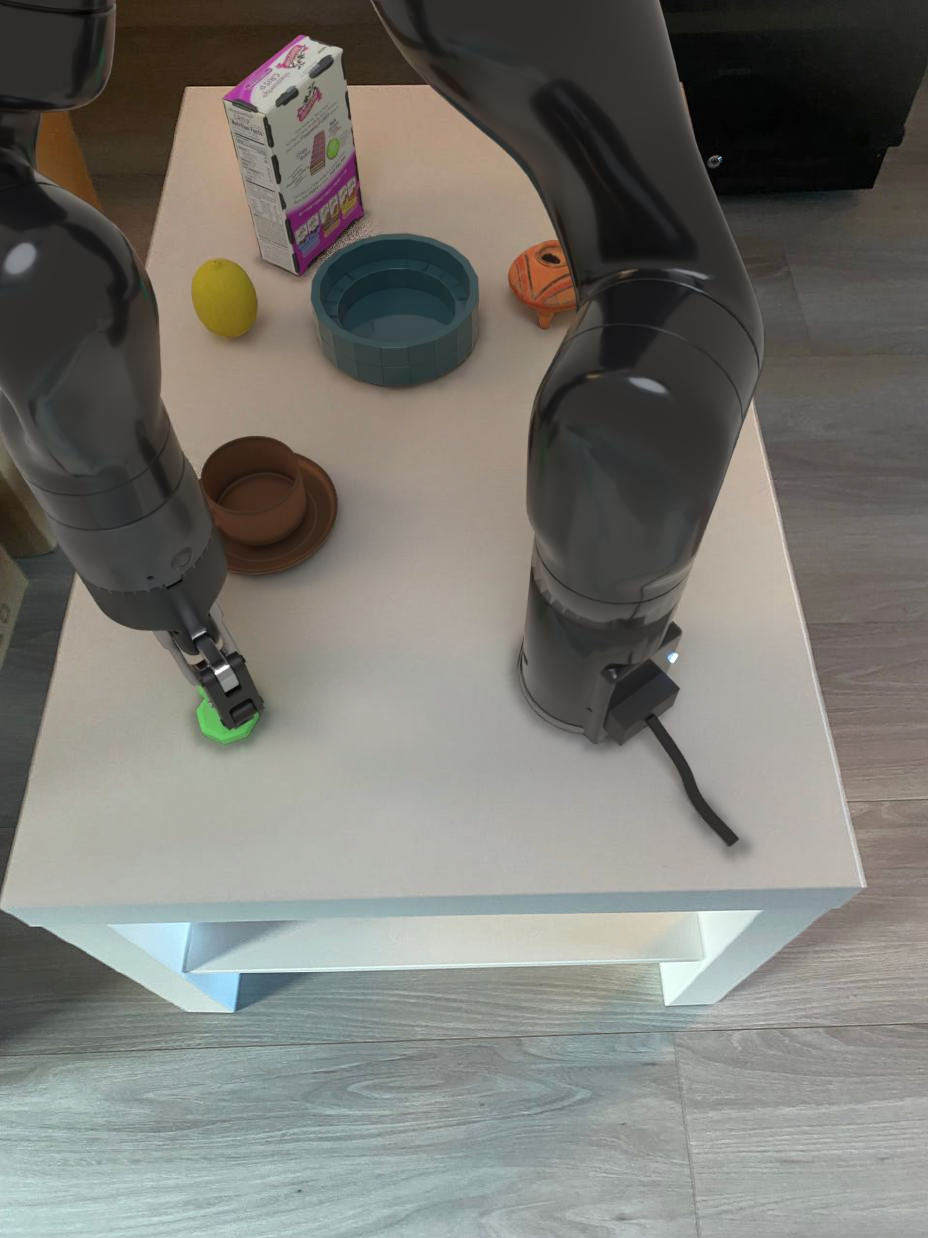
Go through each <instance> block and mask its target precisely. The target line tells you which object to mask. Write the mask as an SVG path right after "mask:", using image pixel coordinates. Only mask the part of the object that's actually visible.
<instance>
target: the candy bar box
mask: <svg viewBox="0 0 928 1238" xmlns="http://www.w3.org/2000/svg"><path fill="white" fill-rule="evenodd" d="M221 99H222V104H223V107H224V112H225V116H226V119H227V124H228V128H229V130H230V135H231V141H232V144H233V148H234V152H235V156H236V160H237V164H238V168H239V172H240V174H241V175H240V176H241V178H242V179H241V180H242V184H243V187H244V192H245V196H246V201H247V203H248V209H249V212H250V215H251V220H252V224H253V229H254V233H255V237H256V240H257V246H258V250H259V252H260V257H261V260H262V261H263V262H265V263H268V264H269V265H272V266H275V267H277V268H279V269H282V270H285V271H286V272H289V273H291V274H293V275H295V276H298V277H299V276H301V275H303V274H304V273H305V272H306V271H307V270H308V269H309V268H311V266H312V265H313V264H314V263H315V262H316V261H317V260H318V259H319V258H320V257H321V256H322V255H323V254H324V253H325V252H326V251H327V250H328V249H329V248H330V247H332V245H333V244H334V243H335V242H336V241H337V240H339V238H340V237H341V236H343V234H345V232H346V231H348V229H349V228H350V227H351V226H352V225H354V223H355V222H356V221H358V220H359V219H360V218H361V217H362V216H363V215H364V213H365V210H364V204H363V195H362V189H361V182H360V174H359V167H358V160H357V159H358V158H357V150H356V143H355V136H354V129H353V120H352V112H351V106H350V98H349V89H348V83H347V73H346V66H345V58H344V49H343V48H341V47H338V46H335V45H332V44H329V43H326V42H324V41H320V40H319V39H313V38H312V37H311V36H309V35H308V36H307V35H302V34H299V35H298V36H296V37H295V38H294V39H293V40H292V41H290V42H289V43H288V44H287V45H285V46H284V47H283V48H282V49H280V50H279V51H278V52H277V53H275V54H274V55H273V56H271V58H269V59H268V60H267V61H266V62H264V63H263V64H262V65H260V66H259V67H258V68H256V70H254V71H253V72H252V73H250V75H248V76H246V78H244V79H243V80H242V81H240V82H239V83H237V84H236V86H234V87H233V88H232V89H231V90H229V91H228V92H227V93H226V94H224V95H223V96H222V97H221Z"/></svg>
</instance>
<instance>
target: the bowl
mask: <svg viewBox="0 0 928 1238" xmlns="http://www.w3.org/2000/svg"><path fill="white" fill-rule="evenodd" d="M479 284H480V283H479V277H478V275H477V273H476V271H475V269H474V266H473V265H472V263H471V262H470V260H469V259H468V258H467V257H466V256H464V255H463V254H462V253H461V252H460V251H459V250H458V249H456V248H455V247H454V246H451V245H449V244H447V243H445V242H442V241H440V240H438V239H436V238H433V237H430V236H425V235H419V234H415V233H407V232H406V233H405V232H404V233H401V232H400V233H398V232H397V233H380V234H376V235H371V236H367V237H363V238H358V239H356V240H354V241H353V242H350V243H349V244H347V245H345V246H343V247H340V248H339V249H337V250H336V251H335V252H333V253H332V254H331V255H330V256H329V257H328V258H327V259H325V260H324V261H323V262H322V263H321V264H320V265H319V268H318V269H317V270H316V273H315V274H314V276H313V278H312V280H311V287H310V305H311V310H312V316H313V321H314V327H315V332H316V333H315V334H316V338H317V341H318V343H319V346H320V348H321V351H322V354H323V355H324V356H325V358H326V359H327V360H328V361H329V362H330V363H331V364H332V365H333V366H334V367H335V368H337V370H339V371H340V372H342V373H344V374H345V375H349V376H350V377H352V378H354V379H356V380H358V381H360V382H365V383H370V384H374V385H378V386H384V387H391V386H392V387H393V386H396V387H397V386H399V387H400V386H412V385H417V384H420V383H424V382H427V381H431V380H435V379H438V378H439V377H441V376H443V375H445V374H446V373H448V372H450V371H452V370H453V369H455V368H457V367H459V365H460V364H461V363H462V362H463V361H464V360H465V359H466V358H467V357H468V356H469V355H470V354H471V353H472V351H473V349H474V347H475V344H476V341H477V339H478V336H479V334H480V285H479Z"/></svg>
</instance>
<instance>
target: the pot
mask: <svg viewBox="0 0 928 1238" xmlns="http://www.w3.org/2000/svg"><path fill="white" fill-rule="evenodd" d="M507 281H508V285H509V288H510V289H511V291H512V293H513V294H514V296H515V297H516V298H517V299H518V301H520V302H521V303H522V304H523V305H525V306H527V307H528V308H530V309H531V310H535V311H536V313H537V316H538V320H539V324H540V328H541V329H544V330H546V329H548V328H549V326H550V325H551V323H552V320H553V318H554V315H555V314H556V313H564V312H568V311H572V310H573V309H576V298H575V292H574V288H573V284H572V280H571V276H570V272H569V269H568V266H567V263H566V260H565V257H564V254H563V251H562V249H561V246H560V243H559V241H558V239H549V240H545V241H542V242H540V243H538V244H534V245H532V246H530V247H529V248H527V249H525V250H524V251H523V252H521V253H520V254H519V255H518V256H516V258H515V259H514V260H513V262H512V263H511V265H510V267H509V269H508V273H507Z"/></svg>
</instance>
